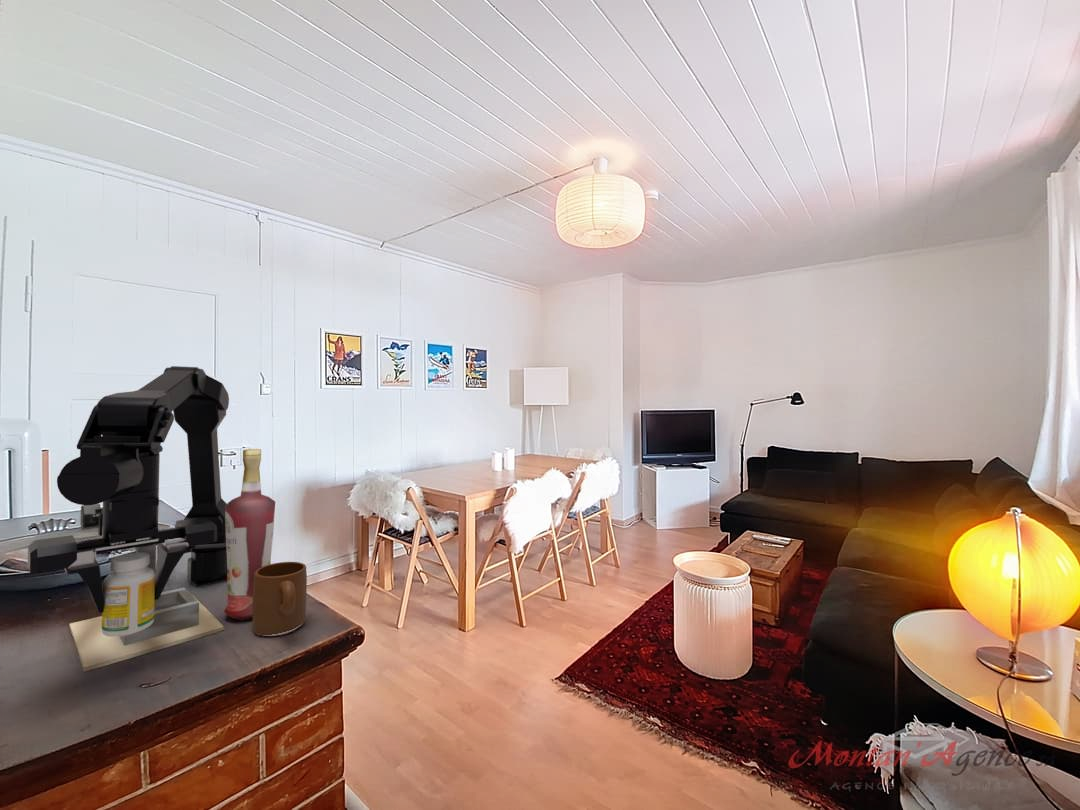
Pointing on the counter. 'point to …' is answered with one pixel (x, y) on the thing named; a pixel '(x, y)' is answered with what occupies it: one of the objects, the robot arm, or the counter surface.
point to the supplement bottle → (128, 595)
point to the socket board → (171, 626)
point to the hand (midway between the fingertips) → (129, 605)
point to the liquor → (247, 537)
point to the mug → (279, 597)
